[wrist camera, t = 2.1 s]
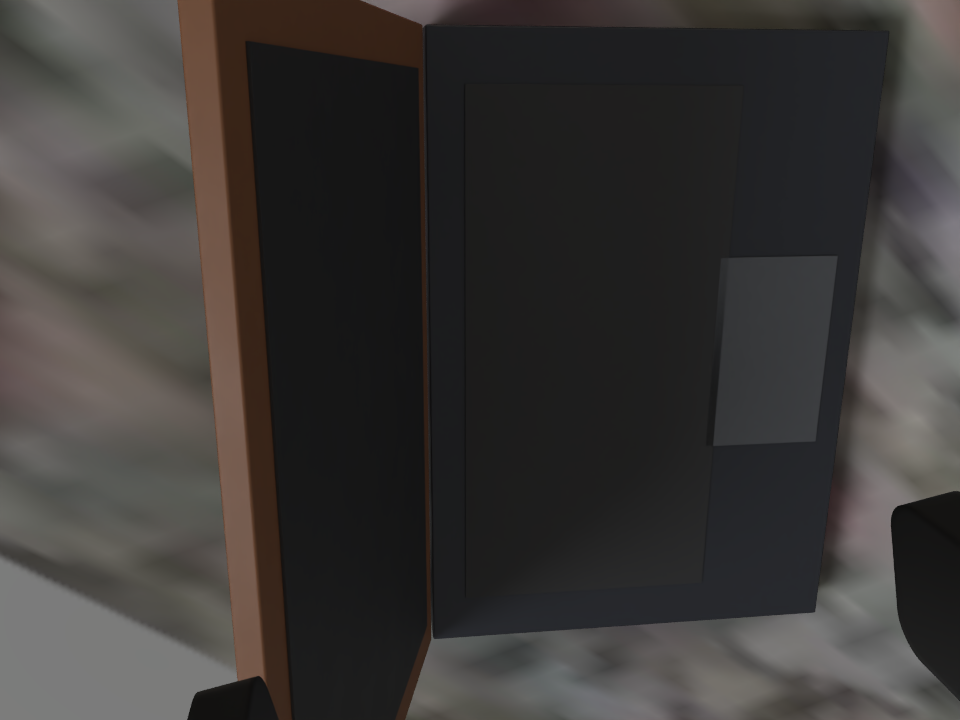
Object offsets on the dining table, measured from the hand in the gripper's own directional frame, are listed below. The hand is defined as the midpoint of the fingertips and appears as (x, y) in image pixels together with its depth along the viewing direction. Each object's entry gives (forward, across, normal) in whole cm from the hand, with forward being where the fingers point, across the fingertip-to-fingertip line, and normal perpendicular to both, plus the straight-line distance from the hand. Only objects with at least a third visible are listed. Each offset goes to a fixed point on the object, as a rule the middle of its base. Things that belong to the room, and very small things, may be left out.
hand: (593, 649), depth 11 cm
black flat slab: (+32, -9, +8) cm, 34 cm away
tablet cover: (+20, +4, +5) cm, 21 cm away
